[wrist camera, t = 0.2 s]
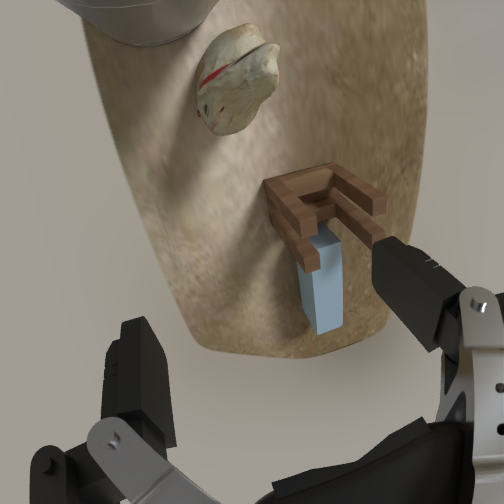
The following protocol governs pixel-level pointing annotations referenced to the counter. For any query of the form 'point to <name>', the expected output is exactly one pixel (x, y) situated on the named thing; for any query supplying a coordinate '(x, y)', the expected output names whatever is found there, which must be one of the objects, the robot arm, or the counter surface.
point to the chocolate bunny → (235, 79)
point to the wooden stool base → (321, 208)
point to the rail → (323, 283)
